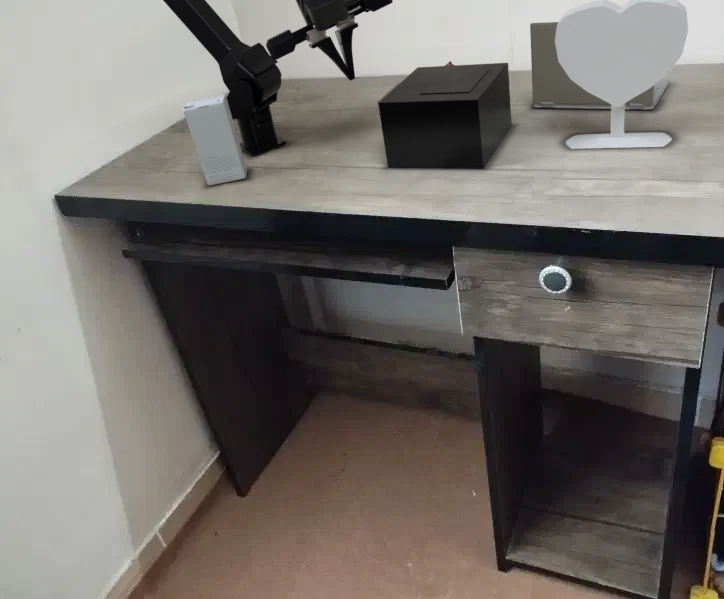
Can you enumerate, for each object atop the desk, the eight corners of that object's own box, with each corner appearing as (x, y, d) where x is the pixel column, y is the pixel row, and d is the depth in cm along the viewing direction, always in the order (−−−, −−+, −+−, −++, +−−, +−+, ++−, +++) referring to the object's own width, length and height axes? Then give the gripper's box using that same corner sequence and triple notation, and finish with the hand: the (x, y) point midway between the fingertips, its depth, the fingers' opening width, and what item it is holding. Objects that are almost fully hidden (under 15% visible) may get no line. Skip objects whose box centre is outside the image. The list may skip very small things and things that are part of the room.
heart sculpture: (679, 132, 97) (689, -10, 88) (679, 146, 93) (690, -1, 84) (560, 135, 103) (558, 2, 94) (556, 149, 99) (553, 11, 90)
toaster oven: (382, 167, 104) (371, 102, 99) (419, 127, 116) (411, 66, 111) (483, 168, 98) (477, 98, 92) (511, 125, 109) (508, 61, 104)
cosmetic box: (247, 169, 112) (227, 92, 106) (246, 180, 108) (225, 101, 102) (208, 176, 112) (186, 100, 106) (205, 187, 108) (182, 109, 102)
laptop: (670, 83, 114) (676, -4, 107) (652, 111, 105) (657, 18, 98) (557, 83, 123) (556, 2, 116) (532, 109, 114) (529, 23, 107)
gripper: (246, 1, 93) (300, 113, 100) (376, -63, 93) (422, 53, 99) (245, 4, 104) (294, 105, 110) (362, -54, 104) (404, 51, 110)
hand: (352, 79), depth 107 cm, fingers closed
